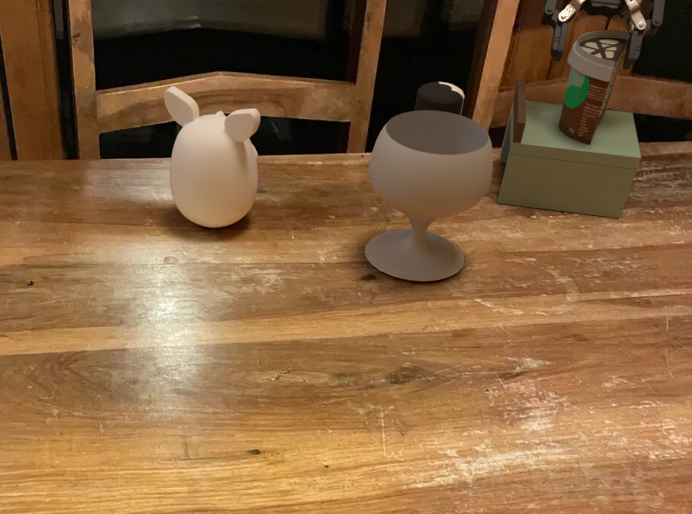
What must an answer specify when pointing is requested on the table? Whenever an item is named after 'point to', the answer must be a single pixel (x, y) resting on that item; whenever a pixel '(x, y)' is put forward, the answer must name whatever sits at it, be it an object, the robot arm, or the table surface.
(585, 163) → the sage green lidded box
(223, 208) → the piggy bank
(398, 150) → the chalice
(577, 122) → the food container
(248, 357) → the table surface
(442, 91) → the medicine bottle
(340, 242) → the table surface
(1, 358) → the table surface
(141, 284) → the table surface
